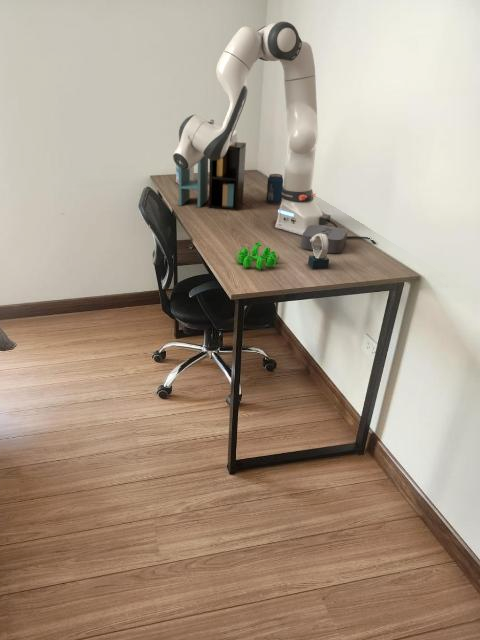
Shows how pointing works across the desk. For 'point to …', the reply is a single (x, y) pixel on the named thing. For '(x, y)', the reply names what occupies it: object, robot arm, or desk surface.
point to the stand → (194, 183)
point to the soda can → (274, 188)
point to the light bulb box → (190, 173)
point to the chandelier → (257, 257)
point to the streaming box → (333, 234)
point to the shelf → (227, 179)
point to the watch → (319, 252)
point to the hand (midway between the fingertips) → (222, 123)
